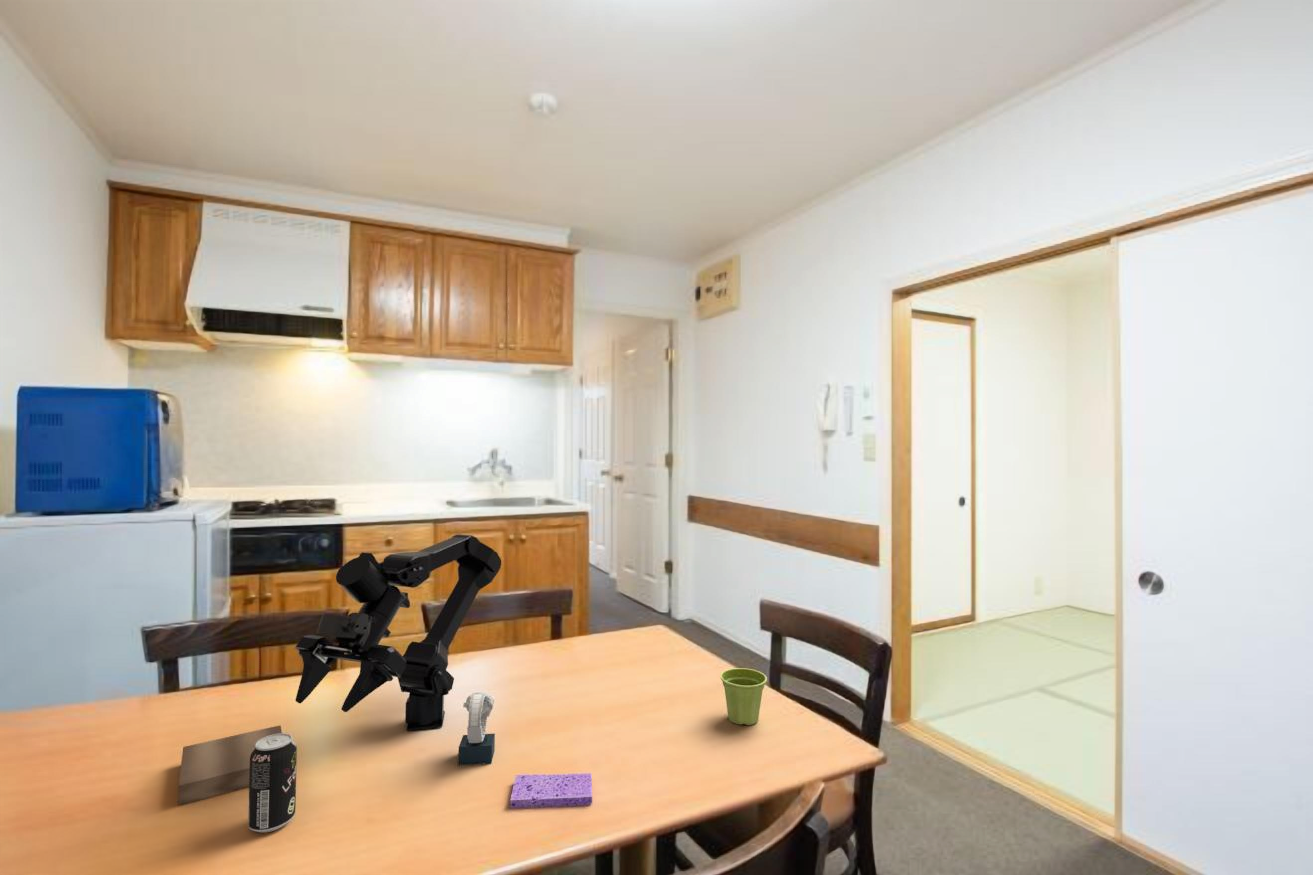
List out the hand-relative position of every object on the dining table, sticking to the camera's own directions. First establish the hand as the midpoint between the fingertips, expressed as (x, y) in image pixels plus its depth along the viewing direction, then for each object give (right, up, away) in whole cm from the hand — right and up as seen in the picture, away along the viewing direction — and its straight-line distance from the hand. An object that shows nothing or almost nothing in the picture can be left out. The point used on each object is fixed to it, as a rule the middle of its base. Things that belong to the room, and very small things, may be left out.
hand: (320, 706), depth 94 cm
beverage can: (-3, -14, -8) cm, 16 cm away
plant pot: (+71, -15, +28) cm, 77 cm away
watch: (+21, -14, +11) cm, 28 cm away
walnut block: (-18, -13, +6) cm, 23 cm away
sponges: (+37, -15, +1) cm, 39 cm away
